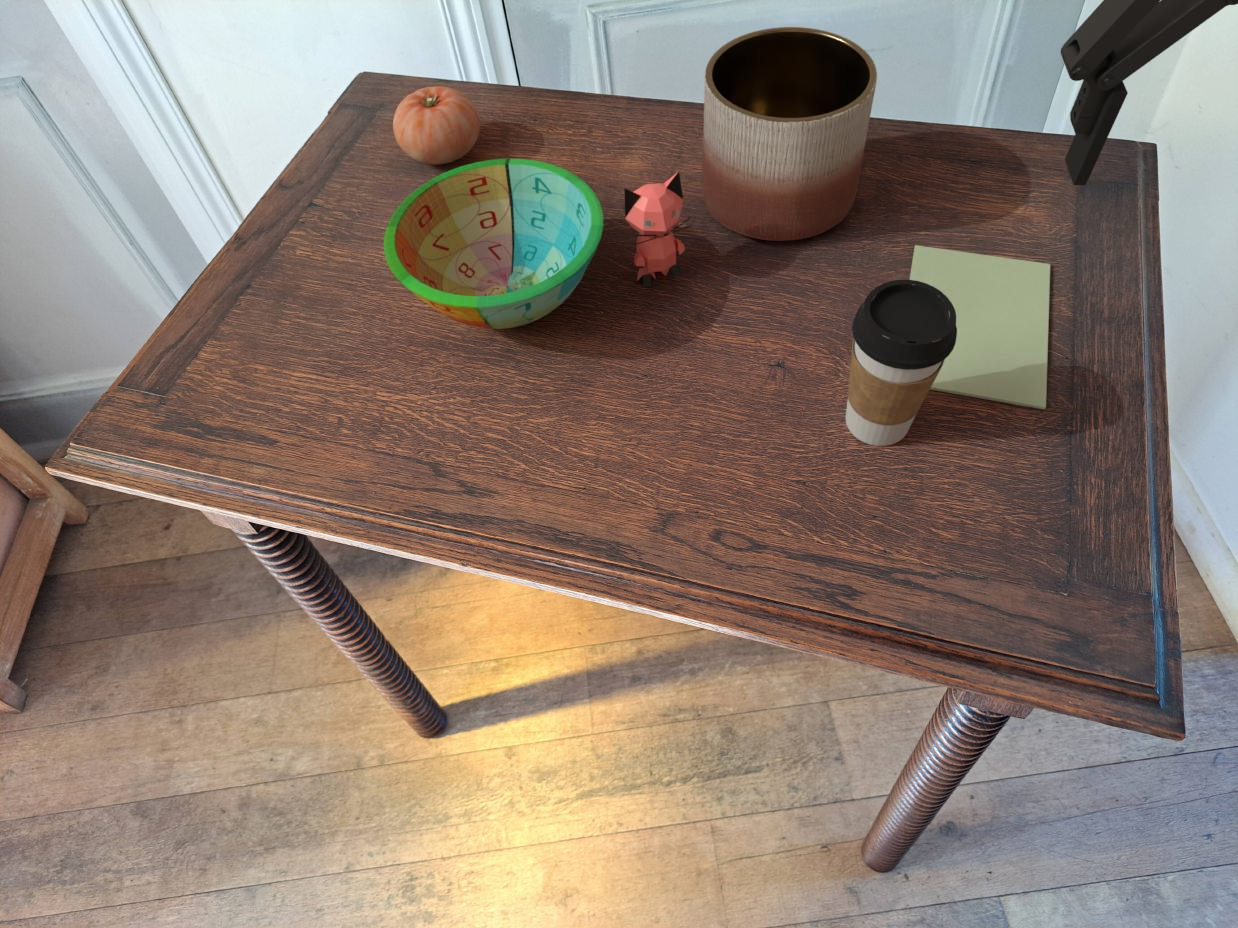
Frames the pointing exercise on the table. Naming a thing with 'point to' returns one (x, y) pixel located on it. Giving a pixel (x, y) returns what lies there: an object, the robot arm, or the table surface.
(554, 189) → the bowl
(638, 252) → the cat figurine
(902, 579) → the table surface
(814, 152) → the planter
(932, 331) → the coffee cup
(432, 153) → the pumpkin
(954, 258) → the sage mat
